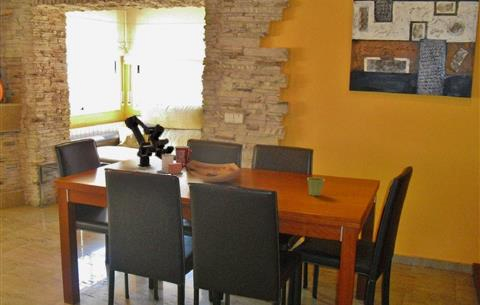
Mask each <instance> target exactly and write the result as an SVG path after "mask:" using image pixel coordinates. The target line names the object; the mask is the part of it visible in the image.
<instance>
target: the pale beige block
mask: <svg viewBox="0 0 480 305" xmlns="http://www.w3.org/2000/svg"><path fill="white" fill-rule="evenodd" d="M174 155H175V154H172V153H171V154H162V160H161V168H162V167H166V168H169V164H172V163H174V158H175V157H174Z"/></svg>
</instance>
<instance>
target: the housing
mask: <svg viewBox="0 0 480 305" xmlns="http://www.w3.org/2000/svg"><path fill="white" fill-rule="evenodd" d="M156 173H159V174H161V173H162V175H165V174H171V175H172V176H178V175H183V174H184V173H183V172H182V167H181V163H176V162H173V163H172V164H169V168H166V167H162V166H161V170H157V171H156Z"/></svg>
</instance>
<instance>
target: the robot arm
mask: <svg viewBox="0 0 480 305" xmlns="http://www.w3.org/2000/svg"><path fill="white" fill-rule="evenodd" d="M124 124H125V126H126V128H128V129H129V130H131V132H132V133H133V136H134V137H135V138H134V139H135V140H136V142H137V143H138V151H137V153H136V156H137V158H139V164H137V166H138V167H139V166H140V167H150V166H152V165H151V164H150V160H151V159H150V157H153V154H154V157H156V158H158V159H160V160H161V161H162V154H172V153H173V152H174V150H175V146H173V145H168V144H169V143H170V141H169V138H167V137H166V138H163V139H160V138H161V136H162V135H163V134H164V132H165V128H164V126H162V125H160V124H155V125H153V124H150V123H149V122H147V120H145V119H144V117H142V115H140V114H133V115H131V116H130V117H126V118H125V120H124ZM139 126H140V127H141V128H142V130H143V133H144V134H145V135H146V136H148V139H147V140H146V139H145V137H144V135H143V133H142V132H141V130H140V128H139ZM166 145H168V146H166ZM165 147H166V148H165Z"/></svg>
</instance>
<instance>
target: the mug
mask: <svg viewBox="0 0 480 305" xmlns="http://www.w3.org/2000/svg"><path fill="white" fill-rule="evenodd" d="M174 150H175V163H181V168H186V167H185V166H186V165H187V166H188V164H189V163H190V161H191V160H192V158H193V155H194V153H193V150H192V149H189V146H186V145H177V146H174ZM189 152H190V157H189V158H188V156H189V155H188V154H189Z"/></svg>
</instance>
